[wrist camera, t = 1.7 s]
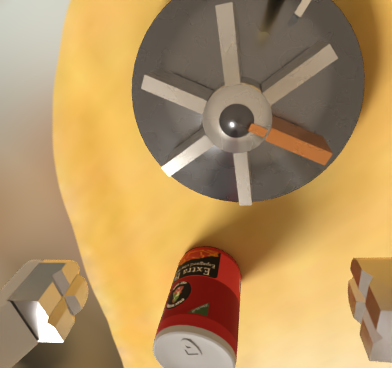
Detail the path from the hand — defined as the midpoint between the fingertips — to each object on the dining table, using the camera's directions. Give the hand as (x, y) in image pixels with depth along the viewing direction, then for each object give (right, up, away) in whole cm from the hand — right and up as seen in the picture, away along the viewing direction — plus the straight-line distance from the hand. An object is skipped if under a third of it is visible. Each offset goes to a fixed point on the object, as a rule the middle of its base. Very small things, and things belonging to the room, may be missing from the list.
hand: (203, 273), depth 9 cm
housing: (+4, +10, +16) cm, 19 cm away
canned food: (+2, -8, +27) cm, 28 cm away
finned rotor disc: (+3, +9, +14) cm, 17 cm away
